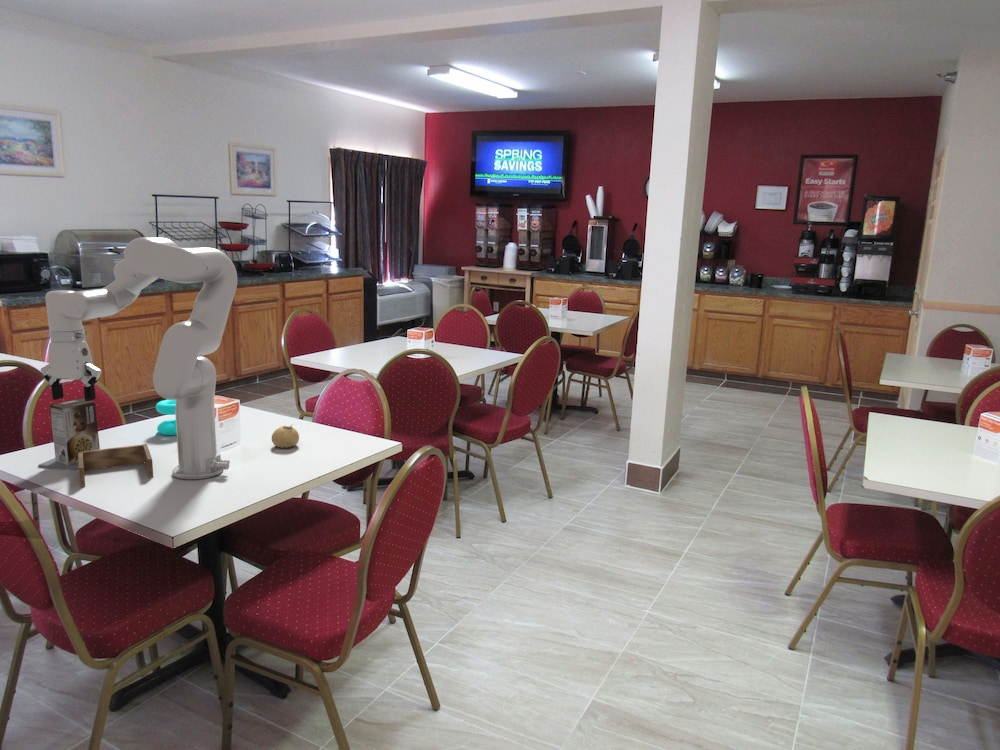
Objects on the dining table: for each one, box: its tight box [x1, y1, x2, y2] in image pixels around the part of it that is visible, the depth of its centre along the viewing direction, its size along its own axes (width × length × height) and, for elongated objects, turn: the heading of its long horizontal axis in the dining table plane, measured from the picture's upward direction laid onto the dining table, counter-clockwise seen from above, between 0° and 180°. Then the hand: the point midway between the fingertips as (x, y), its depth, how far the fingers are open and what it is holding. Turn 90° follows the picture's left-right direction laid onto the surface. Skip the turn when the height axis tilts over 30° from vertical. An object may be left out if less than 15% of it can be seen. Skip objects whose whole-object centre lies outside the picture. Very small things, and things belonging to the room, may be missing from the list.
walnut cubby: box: [78, 443, 154, 488], centre depth 183 cm, size 16×14×5 cm
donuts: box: [155, 399, 177, 436], centre depth 221 cm, size 10×10×10 cm
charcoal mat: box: [38, 457, 79, 471], centre depth 192 cm, size 13×13×1 cm
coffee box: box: [49, 398, 101, 465], centre depth 190 cm, size 9×6×16 cm
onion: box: [271, 424, 300, 448], centre depth 211 cm, size 8×8×7 cm
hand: (74, 399), depth 188 cm, fingers open, 9 cm apart
